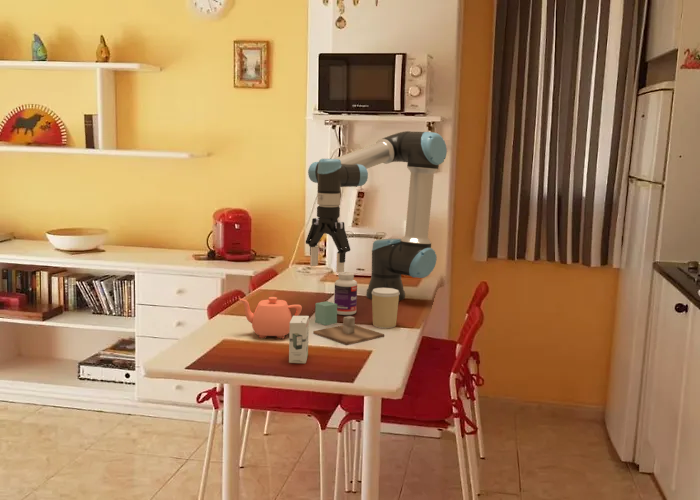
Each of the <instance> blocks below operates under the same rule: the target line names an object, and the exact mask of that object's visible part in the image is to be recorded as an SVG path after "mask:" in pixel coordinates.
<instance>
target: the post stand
mask: <svg viewBox="0 0 700 500" xmlns="http://www.w3.org/2000/svg"><path fill="white" fill-rule="evenodd" d="M342 318H343V320H342V321H343V322H342V324H341V325H337V326H331V327H326V328H321V329H318V330H313V331H312V332H313V334H314V335H315V336H316V335H317V336H319V337H322V338H324V339H329V340H331V341H334V342H336V343H340V344H342V345H345V346H349V345H353V344H357V343H361V342H366V341H371V340H375V339H379V338H384V337H385V334H384V333H381V332H378V331H375V330H372V329H369V328H366V327H362V326H359V325H357V324H355V323H356V321H355V319H356V317H354V316H352V315H346V316H343V317H342Z"/></svg>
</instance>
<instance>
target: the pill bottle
mask: <svg viewBox="0 0 700 500" xmlns="http://www.w3.org/2000/svg"><path fill="white" fill-rule="evenodd" d="M337 275H338V276H337V277H338V278H337V279H336V280H335V282H334V292H333V293H334V295H333V296H334V299H333V303H335V304H337V315H339V316H353V315H355V314H356V313H357V304H358V303H357V302H358V301H357V300H358V281H357V280H355V279H354V277H355V273H353V272H347V271H346V272H345V271H344V272H340V273H337Z"/></svg>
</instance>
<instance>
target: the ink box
mask: <svg viewBox="0 0 700 500" xmlns="http://www.w3.org/2000/svg"><path fill="white" fill-rule="evenodd" d="M309 321H310V316H309V315H299V316H294V315H292V319H291V321H290V330H289V333H288V334H289V339H288V343H289V344H288V350H289V351H288V363H289V364H306V363H307V359H308V356H309V330H310V329H309V327H310V326H309V325H310V322H309Z"/></svg>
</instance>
